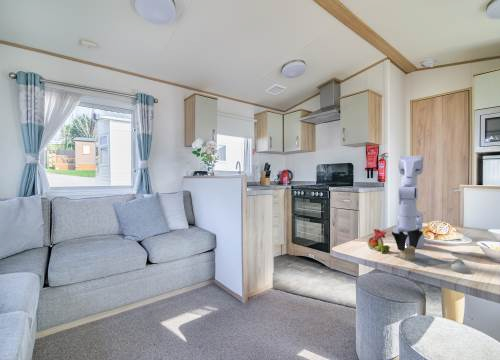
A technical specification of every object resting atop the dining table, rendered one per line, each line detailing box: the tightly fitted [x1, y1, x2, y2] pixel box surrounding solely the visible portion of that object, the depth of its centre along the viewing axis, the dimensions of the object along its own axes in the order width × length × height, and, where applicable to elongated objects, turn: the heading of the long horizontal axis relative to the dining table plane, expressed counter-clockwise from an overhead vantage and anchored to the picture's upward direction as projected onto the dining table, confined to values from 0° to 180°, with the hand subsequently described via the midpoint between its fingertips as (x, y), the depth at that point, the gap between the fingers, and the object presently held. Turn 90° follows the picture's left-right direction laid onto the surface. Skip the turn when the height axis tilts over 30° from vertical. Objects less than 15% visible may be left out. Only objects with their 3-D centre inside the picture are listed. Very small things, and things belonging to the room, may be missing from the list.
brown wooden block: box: [399, 246, 416, 260], centre depth 98 cm, size 5×5×4 cm
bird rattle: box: [367, 228, 391, 254], centre depth 109 cm, size 6×11×9 cm
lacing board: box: [393, 252, 450, 268], centre depth 97 cm, size 14×13×1 cm
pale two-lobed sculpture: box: [450, 258, 470, 274], centre depth 86 cm, size 4×8×5 cm
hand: (407, 249), depth 98 cm, fingers open, 7 cm apart
